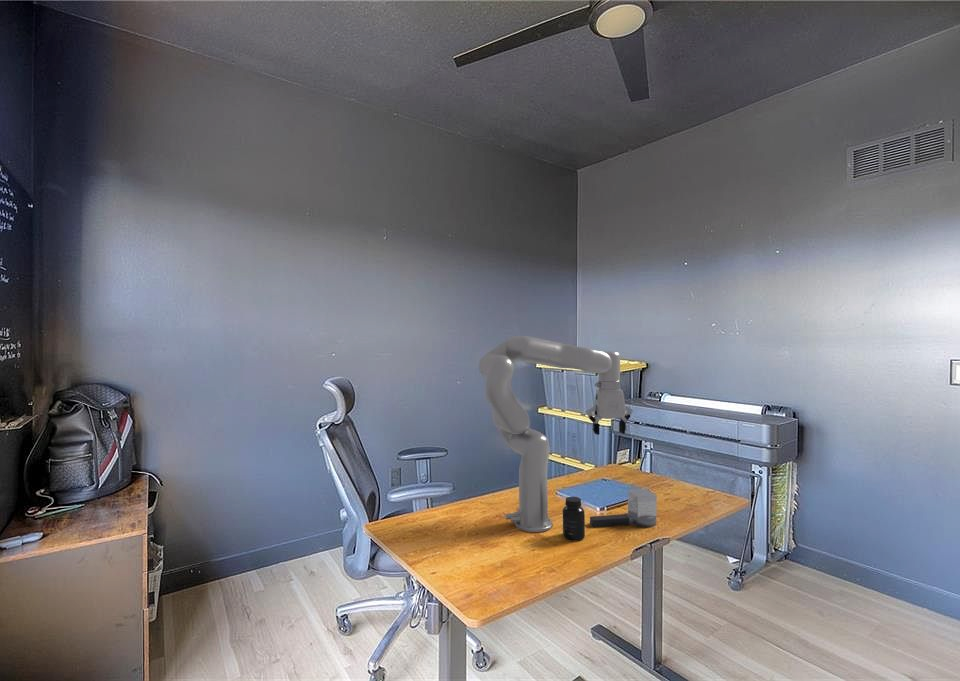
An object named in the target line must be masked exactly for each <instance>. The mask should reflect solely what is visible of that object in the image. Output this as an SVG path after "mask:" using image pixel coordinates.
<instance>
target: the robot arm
mask: <svg viewBox="0 0 960 681" xmlns="http://www.w3.org/2000/svg"><path fill="white" fill-rule="evenodd" d="M517 361H519V362H520V361H521V362H526V363H531V364H537V365H543V366H547V367H552V368H559V369H572V370H579V371H581V372H584V373H585V372H586V373H591V374H593V373H594V374H598V375H597V377H598V379H597V380H598V381H597V382H595V383H594V386H595V387H597V389H596V393H595V396H594V398H595V399H594V406H591V407H590V408H587V410H585V413H586V416H587V417H588V419H589V420H590V421H591V422H592V430H593V434H595V435H597V436H598V435H600V421H601V419H604V420H605V419H619V422H618V430H619V431H618V432H619V433H621V434H623V435H624V434H625V433H626V430H627V427H626V426H627V425H626V424H627V422H628V420H629V419H630V418H631V415H632V413H633V409H632V408H630V407H628V406H626V403H625V402H626V401H625V394H624V390H623V389H621V354H620V353H619V352H618V351H613V350H612V351H610V350H609V351H606V350H605V351H602V350H598V349H592V348H587V347H581V346H575V345H572V344H568V343H562V342H559V341H558V342H557V341H552V340H548V339H543V338H539V337H535V336H528V335H515V336H511V337H509V338H508V339H506V340H505V341H503V342H502V343H500V344H499V345H497V346H496V347H494V348H493V349H491V350H490V351H488V352H486V353H484V355H483V356H482V357H481V358H480V360H479V362H478V365H477V366H478V371H479V373H480V374H481V376H483V377H484V378H486V380H485V387H484V388H485V389H484V390H485V391H484V393H485V397H486V400H487V402H488V403H489V405H490V407H491V408H492V415H491V416H492V417H491V418H492V422H493V425H494V426H495V428H496V429H497V430H498V432H499V433H500V435H501V436H502V438H503V439H504V440H505V442H506V443H507V445H508V446H509V447H510V448H511V449H512V450H513V451H514V452H516V453H517V454H519V455H521V458H520V463H519V467H518V508H517V509H516V511H515V512H514V513H513V512H512V513H509V512H508V513H505V514H504V518H505V520H506V521H507V520H510V522H513V523H514V526H515V527H516V528H517V529H519V530H521V531H524V532H529V533H541V532H546V531H548V530H550V529H552V527H553V520H552V519H551V518H549V517H548V516H549V515H548V514H549V513H548V511H549V510H548V507H549V506H548V503H549V502H548V496H549V495H548V492H549V491H548V468H549V467H548V465H549V459H550V453H551V452H550V451H551V446H550V441H549V438H547V437H546V435H545V434H543V433H542V432H540V431H538V430H535V429H533V428H531V427H530V426H531V425H530V424H531V420H530V419H531V418H530V416H529V414H528V412H527V411H526V409H525V408H524V406H522V404H521V402H520V401H519V399H518V398H517V396H516V395H515V394H514V392H513V389H512V384H511V381H512V378H513V374H514V372H515V366H514V365H515V364H514V363H516V362H517ZM593 413H594V416H593V415H592V414H593Z"/></svg>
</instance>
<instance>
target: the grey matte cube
mask: <svg viewBox="0 0 960 681" xmlns="http://www.w3.org/2000/svg"><path fill="white" fill-rule="evenodd" d="M657 496H658V495H657V494H655V493H654V492H652V491H650V490H649V489H648V488H638V489H637V488H636V489H627V511H630V512H631V513H633V514H634V515H635V516H636V517H638V518H639V517H652V516H656V517H657V516H658V513H657V511H658V509H657V508H658V506H657V504H658V503H657V501H658V500H657V498H658V497H657Z"/></svg>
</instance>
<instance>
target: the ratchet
mask: <svg viewBox="0 0 960 681" xmlns="http://www.w3.org/2000/svg"><path fill="white" fill-rule="evenodd" d="M589 524H590V526H591V527H593V528H606V527H619V526H621V527H622V526H635V527H640V528H653V527H655V526H657V516H652V517H639V518H638V517H636V516H635V515H634V514H633V513H631V512H630V511H629V510H627V512H626V513H625V512H624V513H623V514H608V515H607V514H606V515H594V516H593V515H592V516H589Z"/></svg>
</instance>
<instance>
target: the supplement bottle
mask: <svg viewBox="0 0 960 681" xmlns="http://www.w3.org/2000/svg"><path fill="white" fill-rule="evenodd" d="M564 504H565V506H564V507H562V535H563V536H562V537H564V539H566V540H568V541H570V542H571V541H572V542H580V541H582V540H584V539H585V537H586V531H585V530H586V527H585V524H586V523H585V522H586V520H585V509H584V508H583V507H582V499H581V498H580V497H578V496H567V497H566V498H565V503H564Z"/></svg>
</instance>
